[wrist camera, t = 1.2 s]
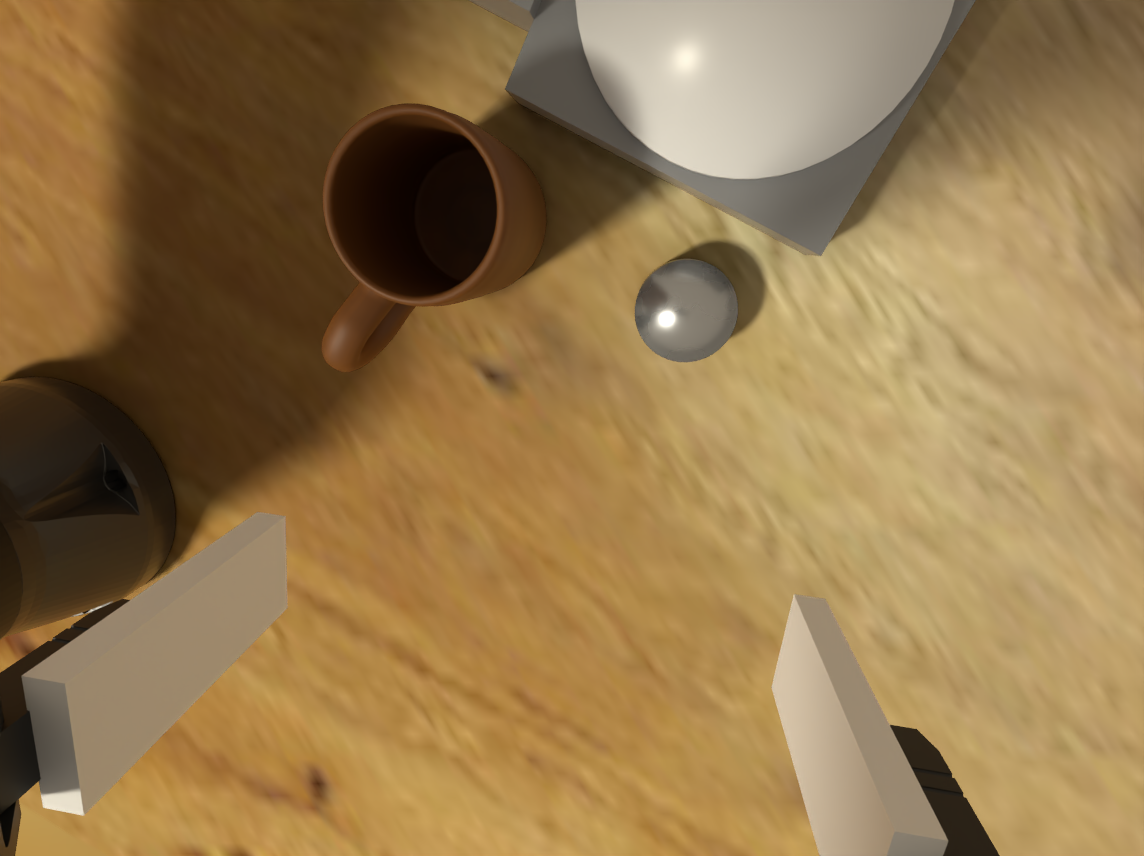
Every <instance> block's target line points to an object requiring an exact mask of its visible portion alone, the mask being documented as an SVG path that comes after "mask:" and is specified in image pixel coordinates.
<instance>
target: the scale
mask: <svg viewBox="0 0 1144 856" xmlns="http://www.w3.org/2000/svg"><path fill="white" fill-rule="evenodd" d="M469 1H471V2H473V3H475V4H477V5H479V6H480V7H482V8H484V9H486V10H488V11H490V12H492V13H494V14H495V15H497V16H499V17H501V18H503V19H505V20H507V21H509V22H511V23H512V24H514V25H516V26H518V27H520V28H522V29H524V30H526V31H528V35H527V37H526V39H525V42H524V44H523V47H522V49H521V52H520V54H519V57H518V59H517V61H516V64H515V66H514V69H513V71H512V74H511V76H510V78H509V81H508V83H507V86H506V88H505V90H506V91H507V92H508V93H509V94H510V95H511V96H512V97H513V98H514V99H515V100H516V101H517V102H518V103H519V104H521V105H523V106H524V107H526V108H528V109H530V110H532V111H534V112H536V113H538V114H540V115H542V116H543V117H545V118H547V119H549V120H551V121H553V122H555V123H557V124H559V125H561V126H562V127H564V128H566V129H568V130H570V131H572V132H574V133H576V134H578V135H579V136H581V137H583V138H585V139H587V140H589V141H591V142H593V143H595V144H597V145H598V146H600V147H602V148H604V149H606V150H608V151H610V152H612V153H614V154H615V155H617V156H619V157H621V158H623V159H625V160H627V161H629V162H631V163H633V164H634V165H636V166H638V167H640V168H642V169H644V170H646V171H648V172H650V173H651V174H653V175H655V176H657V177H659V178H661V179H663V180H665V181H667V182H669V183H670V184H672V185H674V186H676V187H678V188H680V189H682V190H684V191H686V192H687V193H689V194H691V195H693V196H695V197H697V198H699V199H701V200H703V201H705V202H706V203H708V204H710V205H712V206H714V207H716V208H718V209H720V210H722V211H724V212H725V213H727V214H729V215H731V216H733V217H735V218H737V219H739V220H741V221H742V222H744V223H746V224H748V225H750V226H752V227H754V228H756V229H758V230H760V231H761V232H763V233H765V234H767V235H769V236H771V237H773V238H775V239H777V240H778V241H780V242H782V243H784V244H786V245H788V246H790V247H792V248H794V249H796V250H797V251H799V252H801V253H803V254H805V255H815V256H821V255H822V253H823V252H824V250H825V248H826V247H827V245H828V243H829V242H830V240H831V238H832V237H833V235H834V233H835V232H836V230H837V228H838V227H839V225H840V224H841V222H842V220H843V219H844V217H845V215H846V214H847V212H848V210H849V209H850V207H851V205H852V204H853V202H854V200H855V199H856V197H857V195H858V194H859V192H860V191H861V189H862V187H863V186H864V184H865V182H866V181H867V179H868V177H869V176H870V174H871V172H872V171H873V169H874V167H875V166H876V164H877V162H878V161H879V159H880V158H881V156H882V154H883V153H884V151H885V149H886V148H887V146H888V144H889V143H890V141H891V139H892V138H893V136H894V134H895V133H896V131H897V129H898V128H899V126H900V125H901V123H902V121H903V120H904V118H905V116H906V115H907V113H908V111H909V110H910V108H911V106H912V105H913V103H914V101H915V100H916V98H917V96H918V95H919V93H920V92H921V90H922V88H923V87H924V85H925V83H926V82H927V80H928V78H929V77H930V75H931V73H932V72H933V70H934V68H935V67H936V65H937V63H938V62H939V60H940V59H941V57H942V55H943V54H944V52H945V50H946V49H947V47H948V45H949V44H950V42H951V40H952V39H953V37H954V35H955V34H956V32H957V30H958V29H959V27H960V25H961V24H962V22H963V21H964V19H965V17H966V16H967V14H968V12H969V11H970V9H971V7H972V6H973V4H974V2H975V1H976V0H469Z"/></svg>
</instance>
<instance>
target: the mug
mask: <svg viewBox="0 0 1144 856" xmlns="http://www.w3.org/2000/svg"><path fill="white" fill-rule="evenodd" d="M323 213H324V218H325V223H326V227H327V230H328V234H329V237H330V239H331V242H332V244H333V246H334V249H335V250H336V252H337V254H338V256H339V257H340V259H341V261H342V262H343V263H344V265H345V266H346V267H347V269H348V270H349V271H350V272H351V273H352V275H353V276H354V277H355V278H356V279H357V280H358V281H359V284H358V285H357V286H356V288H355V289H354V290H353V291H352V293H351V294H350V295H349V297H348V298H347V299H346V300H345V302H344V303H343V304H342V305H341V307H340V308H339V309H338V311H337V312H336V313H335V315H334V316H333V318H332V319H331V321H330V323H329V325H328V327H327V329H326V331H325V334H324V337H323V340H322V355H323V357H324V359H325V361H326V362H327V363H328V364H329V365H330V366H331V367H333V368H334V369H336V370H339V371H341V372H350V371H354V370H357V369H360V368H361V367H363V366H365V365H366V364H368V363H369V362H370V361H371V360H373V359H374V358H375V357H376V356H377V355H378V354H379V353H380V352H381V351H382V350H383V349H384V348H385V347H386V346H387V344H388V343H389V342H390V341H391V340H392V338H393V337H394V336H395V335H396V333H397V332H398V330H399V329H400V328H401V326H402V325H403V323H404V322H405V320H406V319H407V317H408V316H409V314H410V313H411V312H412V310H413V309H414V308H415V307H416V306H443V305H451V304H455V303H459V302H463V301H467V300H470V299H474V298H477V297H480V296H483V295H486V294H489V293H492V292H495V291H498V290H500V289H503V288H505V287H507V286H509V285H510V284H512V283H514V282H515V281H516V280H518V279H519V278H520V277H521V276H522V275H523V274H524V273H525V272H526V271H527V270H528V269H529V268H530V267H531V265H532V264H533V263H534V261H535V259H536V258H537V256H538V254H539V252H540V249H541V247H542V244H543V240H544V237H545V231H546V217H547V215H546V205H545V201H544V196H543V193H542V190H541V187H540V185H539V183H538V181H537V179H536V177H535V175H534V174H533V172H532V171H531V169H530V168H529V167H528V165H527V164H526V163H525V162H524V161H523V160H522V159H521V158H520V157H519V156H518V155H517V154H516V153H515V152H514V151H512V150H511V149H509V148H508V147H507V146H505V145H504V144H503V143H501V142H500V141H499V140H497V139H496V138H494V137H493V136H491V135H490V134H488V133H487V132H485V131H484V130H482V129H481V128H479V127H478V126H476V125H475V124H473V123H472V122H470V121H468V120H466V119H464V118H462V117H460V116H458V115H455V114H452V113H449V112H447V111H444V110H441V109H438V108H435V107H432V106H428V105H422V104H398V105H392V106H388V107H385V108H381V109H379V110H377V111H374V112H372V113H370V114H368V115H367V116H365V117H364V118H362V119H361V120H359V121H358V122H357V123H356V124H355V125H354V126H353V127H351V128H350V129H349V130H348V132H347V133H346V134H345V135H344V136H343V138H342V139H341V140H340V142H339V144H338V145H337V147H336V148H335V150H334V152H333V154H332V156H331V159H330V161H329V164H328V167H327V170H326V174H325V179H324V185H323Z"/></svg>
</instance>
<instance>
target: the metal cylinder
mask: <svg viewBox="0 0 1144 856" xmlns="http://www.w3.org/2000/svg"><path fill="white" fill-rule="evenodd" d="M737 316H738V302H737V296H736V293H735V290H734V288H733V286H732V284H731V282H730V281H729V280H728V278H727V277H726V276H725V275H724V274H723V273H722V272H721V271H720V270H719V269H717V268H716V267H714V266H713V265H711V264H708V263H706V262H703V261H700V260H696V259H677V260H673V261H670V262H667V263H665V264H663V265H661V266H659V267H658V268H657V269H655V270H654V271H653V272H652V273H651V274H650V275H649V276H648V277H647V278H646V280H645V281H644V283H643V284H642V286H641V288H640V291H639V293H638V296H637V300H636V305H635V321H636V325H637V329H638V331H639V334H640V336H641V337H642V339H643V341H644V342H645V343H646V345H647V346H648V347H649V348H650V349H651V350H652V351H654V352H655V353H656V354H658V355H660V356H661V357H663V358H666V359H668V360H672V361H677V362H693V361H697V360H701V359H704V358H706V357H708V356H710V355H712V354H713V353H715V352H716V351H718V350H719V349H720V348H721V347H722V346H723V345H724V344H725V343H726V342H727V340H728V339H729V337H730V336H731V334H732V332H733V330H734V328H735V325H736V321H737Z"/></svg>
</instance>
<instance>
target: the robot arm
mask: <svg viewBox="0 0 1144 856" xmlns="http://www.w3.org/2000/svg"><path fill="white" fill-rule="evenodd" d="M174 533H175V505H174V498H173V494H172V490H171V486H170V483H169V480H168V477H167V474H166V472H165V470H164V467H163V465H162V463H161V461H160V459H159V457H158V456H157V454H156V452H155V450H154V449H153V447H152V446H151V444H150V443H149V441H148V440H147V439H146V437H145V436H144V435H143V433H142V432H141V431H140V430H139V429H138V428H137V426H136V425H135V424H134V423H133V422H132V421H131V420H130V419H129V418H128V417H127V416H126V415H124V414H123V413H122V412H121V411H120V410H119V409H117V408H116V407H115V406H114V405H112V404H111V403H109V402H108V401H107V400H105V399H103V398H102V397H100V396H99V395H97V394H95V393H93V392H91V391H89V390H87V389H85V388H83V387H81V386H78V385H76V384H73V383H70V382H67V381H63V380H59V379H54V378H47V377H24V378H18V379H12V380H8V381H3V382H0V640H1V639H2V638H4V637H6V636H9V635H13V634H16V633H19V632H23V631H26V630H29V629H33V628H36V627H39V626H42V625H46V624H49V623H52V622H55V621H59V620H62V619H65V618H68V617H72V616H79V615H83V614H88V613H89V614H88V615H86V616H85V617H83V618H82V619H80V620H79V621H77V622H76V623H74V624H73V625H71V628H70V629H68V628H67V629H65V630H64V631H62V632H61V633H59V634H58V635H56V636H55V637H53V640H52V641H47V642H46V643H44V644H43V645H41V646H40V647H38V648H37V649H35V650H34V651H32V652H31V653H29V654H28V655H26V656H25V657H23V658H22V659H20V660H19V661H17V662H16V663H14V664H13V665H11V666H10V667H8V668H7V669H5V670H4V671H2V672H1V673H0V856H15V851H16V846H17V839H18V832H19V826H20V819H21V810H20V805H19V798H20V797H21V796H22V795H23V794H25V793H26V792H27V791H28V790H29V789H30V788H31V787H32V786H34V785H35V784H36V783H37V782H38V781H39V785H40V791H41V797H42V803H43V808H48V809H53V810H58V811H63V812H68V813H73V814H78V815H85V814H86V813H87V812H88V811H89V810H90V809H91V808H92V807H93V806H94V805H95V804H96V803H97V802H98V801H99V800H100V799H101V798H102V797H103V796H104V795H105V794H106V793H107V791H108V790H109V789H110V788H111V787H112V786H113V785H114V784H115V783H116V782H117V781H118V780H119V779H120V778H121V777H122V776H123V775H124V774H125V773H126V772H127V771H128V770H129V769H130V768H131V767H132V766H133V765H134V764H135V763H136V762H137V761H138V760H139V759H140V758H141V757H142V756H143V755H144V754H145V753H146V752H147V751H148V750H149V749H150V748H151V747H152V746H153V745H154V744H155V743H156V742H157V740H158V739H159V738H160V737H161V736H162V735H163V734H164V733H165V732H166V731H167V730H168V729H169V728H170V727H171V726H172V725H173V724H174V723H175V722H176V721H177V720H178V719H179V718H180V717H181V716H182V715H183V714H184V713H185V712H186V711H187V710H188V709H189V708H190V707H191V706H192V705H193V704H194V703H195V702H196V701H197V700H198V699H199V698H200V697H201V696H202V695H203V694H204V693H205V692H206V691H207V689H208V688H209V687H210V686H211V685H212V684H213V683H214V682H215V681H216V680H217V679H218V678H219V677H220V676H221V675H222V674H223V673H224V672H225V671H226V670H227V669H228V668H229V667H230V666H231V665H232V664H233V663H234V662H235V661H236V660H237V659H238V658H239V657H240V656H241V655H242V654H243V653H244V652H245V651H246V650H247V649H248V648H249V647H250V646H251V645H252V644H253V643H254V642H255V641H256V640H257V638H258V637H259V636H260V635H261V634H262V633H263V632H264V631H265V630H266V629H267V628H268V627H269V626H270V625H271V624H272V623H273V622H274V621H275V620H276V619H277V618H278V617H279V616H280V615H281V614H282V613H283V612H284V611H285V610H286V609H287V567H286V521H285V516H280V515H274V514H267V513H261V512H257V513H255V514H254V515H253V516H251V517H250V518H248V519H247V520H245V521H244V522H242V523H241V524H240V525H238V526H237V527H235V528H234V529H232V530H231V531H229V532H228V533H227V534H225V535H224V536H222V537H221V538H219V539H218V540H216V541H215V542H214V543H212V544H211V545H209V546H208V547H206V548H205V549H204V550H202V551H201V552H199V553H198V554H196V555H195V556H193V557H192V558H191V559H189V560H188V561H186V562H185V563H183V564H182V565H180V566H179V567H178V568H176V569H175V570H173V571H172V572H170V573H169V574H167V575H166V576H165V577H163V578H162V579H160V580H159V581H157V582H156V583H154V584H153V585H152V586H150V587H149V588H147V589H146V590H144V591H143V592H142V593H140V594H139V595H137V596H136V597H134V598H133V599H131V600H126V599H123V598H124V597H126V596H127V595H129V594H130V593H132V592H133V591H135V590H137V589H138V588H140V587H141V586H143V585H144V584H145V583H147V582H148V581H149V580H150V579H151V578H152V577H154V575H155V574H156V573H157V572H158V571H159V570H160V568H161V567H162V565H163V564H164V562H165V560H166V558H167V556H168V554H169V552H170V549H171V546H172V543H173V538H174ZM772 691H773V694H774V698H775V701H776V705H777V708H778V712H779V715H780V719H781V722H782V726H783V729H784V733H785V736H786V740H787V743H788V747H789V750H790V754H791V757H792V761H793V764H794V768H795V771H796V775H797V778H798V782H799V785H800V789H801V792H802V796H803V799H804V803H805V806H806V810H807V813H808V817H809V820H810V824H811V827H812V831H813V834H814V838H815V841H816V845H817V848H818V852H819V855H820V856H999V854H998V852H997V850H996V849H995V847H994V845H993V844H992V842H991V840H990V838H989V837H988V835H987V833H986V831H985V830H984V828H983V826H982V825H981V823H980V821H979V819H978V818H977V816H976V814H975V812H974V811H973V809H972V807H971V806H970V804H969V802H968V800H967V799H966V798H964V797H963V792H962V790H961V788H960V787H959V785H958V783H957V781H956V780H955V778H952V773H951V771H950V769H949V768H948V766H947V764H946V762H945V761H944V759H943V757H942V756H941V754H940V752H939V751H938V750H937V749H936V748H935V747H934V746H933V745H932V744H931V743H930V742H929V741H928V740H927V739H926V738H925V737H924V736H923V735H922V734H921V733H920V732H919V731H918V730H917V729H912V728H906V727H900V726H894V725H889V723H888V721H887V719H886V717H885V715H884V713H883V711H882V709H881V707H880V705H879V703H878V701H877V699H876V697H875V695H874V693H873V691H872V689H871V687H870V686H869V684H868V682H867V680H866V678H865V676H864V674H863V672H862V670H861V668H860V666H859V664H858V662H857V660H856V658H855V656H854V654H853V652H852V650H851V648H850V646H849V644H848V642H847V640H846V638H845V636H844V634H843V632H842V630H841V628H840V626H839V624H838V623H837V621H836V619H835V617H834V615H833V613H832V611H831V609H830V607H829V605H828V603H827V601H826V599H822V598H816V597H809V596H803V595H796V594H794V596H793V600H792V604H791V609H790V613H789V617H788V621H787V625H786V629H785V634H784V638H783V642H782V646H781V650H780V655H779V659H778V663H777V667H776V671H775V675H774V680H773V684H772Z"/></svg>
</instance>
